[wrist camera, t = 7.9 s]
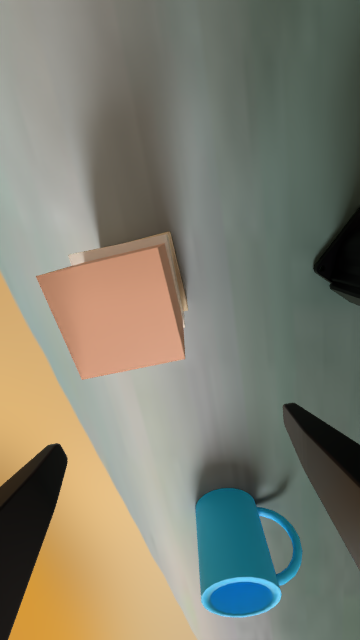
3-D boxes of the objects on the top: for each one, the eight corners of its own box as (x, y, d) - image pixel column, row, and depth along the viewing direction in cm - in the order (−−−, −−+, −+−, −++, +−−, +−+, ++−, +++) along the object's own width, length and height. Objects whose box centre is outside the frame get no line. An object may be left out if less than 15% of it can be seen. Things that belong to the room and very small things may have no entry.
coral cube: (84, 262, 14) (35, 276, 9) (164, 243, 13) (157, 247, 9) (111, 335, 15) (82, 379, 11) (182, 320, 15) (185, 358, 10)
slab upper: (86, 251, 16) (67, 254, 14) (167, 234, 16) (165, 234, 13) (111, 327, 18) (99, 343, 16) (183, 313, 18) (185, 327, 15)
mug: (199, 529, 32) (206, 620, 25) (191, 491, 30) (195, 581, 22) (284, 519, 32) (318, 610, 24) (284, 480, 29) (322, 568, 21)
